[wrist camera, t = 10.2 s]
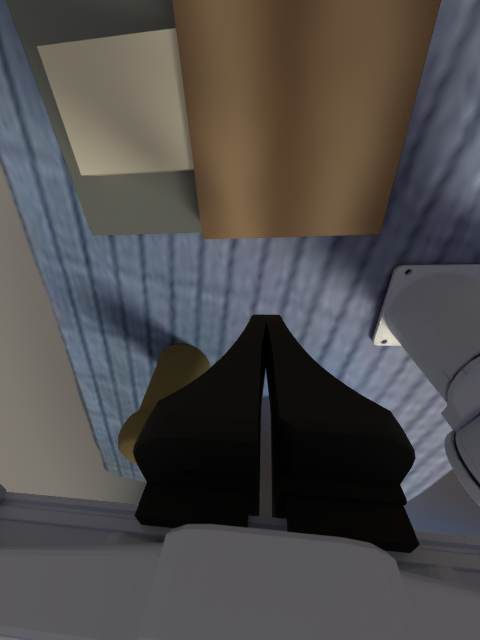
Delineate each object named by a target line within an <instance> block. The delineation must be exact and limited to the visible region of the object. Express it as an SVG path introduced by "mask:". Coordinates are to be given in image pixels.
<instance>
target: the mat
mask: <svg viewBox="0 0 480 640" xmlns="http://www.w3.org/2000/svg"><path fill="white" fill-rule="evenodd" d="M6 1H7V4H8V7H9V9H10V12H11V15H12V17H13V20H14V23H15V26H16V28H17V31H18V34H19V36H20V39H21V42H22V45H23V47H24V50H25V53H26V56H27V58H28V61H29V64H30V66H31V69H32V72H33V75H34V77H35V80H36V83H37V85H38V88H39V91H40V94H41V96H42V99H43V102H44V104H45V107H46V110H47V113H48V115H49V118H50V121H51V123H52V126H53V129H54V132H55V134H56V137H57V140H58V142H59V145H60V148H61V151H62V153H63V156H64V159H65V161H66V164H67V167H68V170H69V172H70V175H71V178H72V180H73V183H74V186H75V189H76V191H77V194H78V197H79V199H80V202H81V205H82V208H83V210H84V213H85V216H86V219H87V221H88V224H89V227H90V229H91V232H92V235H123V234H157V233H191V232H202V228H201V221H200V213H199V205H198V197H197V189H196V181H195V174H194V170H190V171H172V172H155V173H137V174H119V175H102V176H90V175H81V173H80V170H79V167H78V164H77V161H76V159H75V156H74V153H73V150H72V147H71V144H70V141H69V138H68V135H67V132H66V130H65V127H64V124H63V121H62V118H61V115H60V112H59V109H58V106H57V103H56V100H55V98H54V95H53V92H52V89H51V86H50V83H49V80H48V77H47V74H46V71H45V68H44V66H43V63H42V60H41V57H40V54H39V51H38V48H37V46H43V45H50V44H58V43H66V42H73V41H81V40H88V39H96V38H104V37H111V36H119V35H127V34H134V33H142V32H149V31H157V30H165V29H172V28H176V25H175V17H174V9H173V2H172V0H6Z"/></svg>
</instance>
